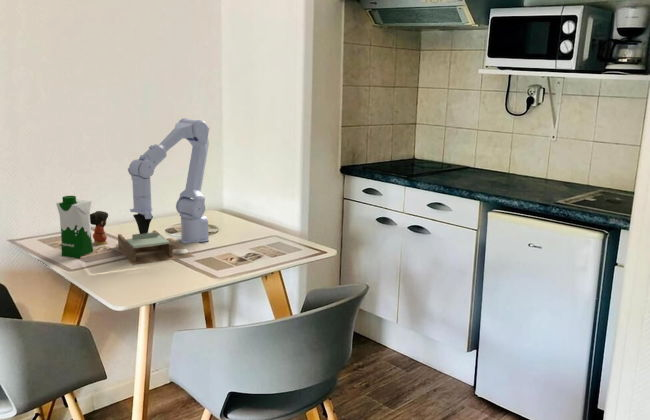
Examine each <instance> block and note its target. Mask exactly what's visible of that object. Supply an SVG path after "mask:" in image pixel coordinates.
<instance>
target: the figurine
mask: <svg viewBox="0 0 650 420" xmlns="http://www.w3.org/2000/svg"><path fill="white" fill-rule="evenodd" d="M108 218H109V213H108V212H106V211H102V210H97V211H95V212H92V213H90V225H92V226H95V227H94V230H93V232H94V233H93V234H92V238H93V244H94V245H95V246H104V245H107V244H108V242H107V237H108V236H107V235H106V231H105V229H104V228H105V227H106V226H107V219H108Z"/></svg>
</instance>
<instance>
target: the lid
mask: <svg viewBox="0 0 650 420" xmlns="http://www.w3.org/2000/svg"><path fill="white" fill-rule="evenodd" d="M157 232H158V231H157ZM157 232H153V231H152V232H148V233H143V234H140V233H135V234H132V235H131V237H132V238H126V240H127V242H128V243H129V244H130V245H131V246H132V247H133V248H138V247H146V246H154V245H162V244H169V241H168V240H167V239H168V238H166V237H164V236H163V235H162V234H160V235H158V236H157Z"/></svg>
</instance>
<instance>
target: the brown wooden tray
mask: <svg viewBox="0 0 650 420" xmlns="http://www.w3.org/2000/svg"><path fill="white" fill-rule="evenodd" d="M152 232H157V236H158V235H161V234H160V233H159V232H158V231H157V230H155V229H154V230H152ZM166 239H167V240H168V241H169V244H162V245H154V246H146V247H138V248H133V247H132V246H131V245H130V244H129V243H128V242H127V238H125V237H124V236H123V235H122V234H121V233H119V234H117V241H118V242H117V244H115V247H116V248H118V250H119V251H120V252H121V254H122V255H124V257H125V258H126V259H127V260H128V261H129V262H130V264H131V265H133V266H137V265H142V264H150V263H151V264H152V263H157V262H164V261H166V262H167V261H171V260H172V261H173V260H180V259H187V258H193V257H194V258H195V255H193V254H192V253H191V252H190V251H189V250H188V249H186V248H185V247H183V245H181V244H180V243H178V242H177V241H176V240H174V239H173V238H172V237H171V238H166Z"/></svg>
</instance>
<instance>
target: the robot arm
mask: <svg viewBox="0 0 650 420" xmlns="http://www.w3.org/2000/svg"><path fill="white" fill-rule="evenodd" d="M209 131H210V127H209V126H208V124H207V123H206V121H204V120H203V119H191V118H181V119H179V121H178V122H176V123H175V125H174V128H173V129H172V130H171V131H170V132H169V133H168V134H167V135H166V136H165V138H163V140H162V141H161V142H160V143H159V144H153V145H150V146H148V149H147V151H145V152H144V153H143V154H141V155H139V158H138V159H133V160H132V161H131V162H130V164H129V166H128V168H127V172H128V174H129V175H130V176H131V177H130V178H131V181H132V199H133V208H130V209H129V210H130V213H135V214H133V215H132V216H133V218H134V220H135V222H136V224H137V228H138V229H137V230H138V234H143V233H149V228H150V225H151V222H152V220H153V218H154V216H153V214H152V212H153V208H152V185H151V177H152V176H153V175H154V172H155V169H156V167H157V166H159V164H160V163H162V162H163V161H164V160H165V159H166V157H167V152H168V151H169V150H171V149H172V148H173V147H175V145H176V144H178V143H179V142H180V141H181V140H183V139H185V140H187V141H188V142H189V144H190V145H191V146H192V148H191V154H190V158H189V159H190V160H189V165H188V171H187V172H188V173H187V178H186V183H185V189H184V190H183V191H181V192H180V193H179V197H178V199H177V201H176V204H175V209H176V212H178V213H179V217H180V231H181V232H180V236H179V237H177V240H180V241H181V242H182V243H183V244H191V243H201V242H202V243H203V242H209V241H210V239H209V219H208V217H207V216H206V215H204V214H205V212H206V204H205V201H206V197H205V195H204V194H203V193H202V185H203V180H204V175H205V168H206V163H207V156H208V151H209V146H210V145H209V144H210V142H209Z"/></svg>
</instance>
